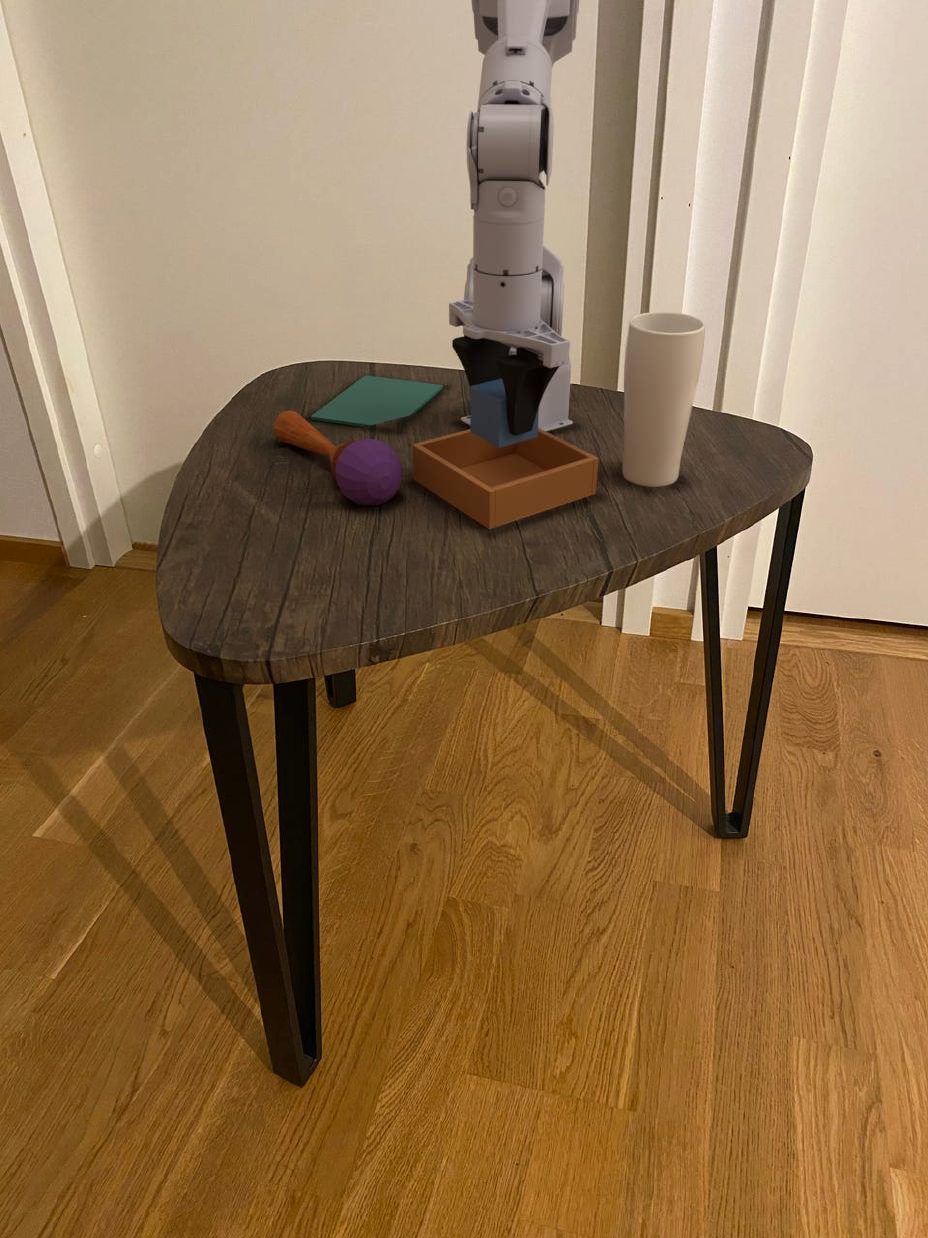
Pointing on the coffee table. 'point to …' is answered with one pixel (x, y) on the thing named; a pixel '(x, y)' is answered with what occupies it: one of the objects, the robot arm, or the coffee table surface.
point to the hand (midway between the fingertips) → (503, 422)
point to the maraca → (348, 460)
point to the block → (494, 415)
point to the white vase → (659, 393)
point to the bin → (504, 475)
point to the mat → (377, 401)
